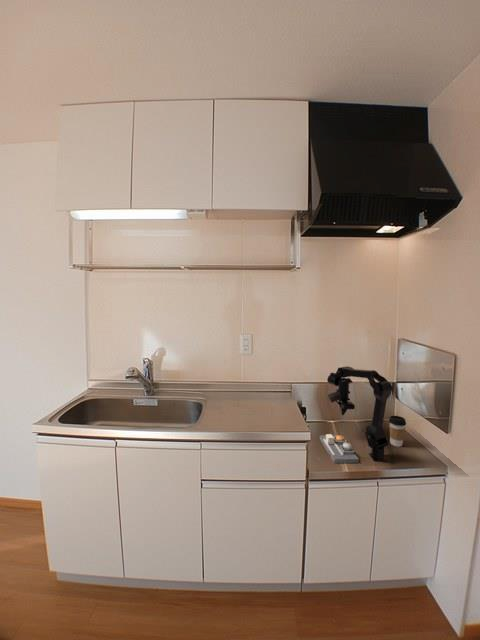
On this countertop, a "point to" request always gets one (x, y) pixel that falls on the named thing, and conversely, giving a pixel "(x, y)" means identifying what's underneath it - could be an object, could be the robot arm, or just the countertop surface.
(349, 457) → the control panel
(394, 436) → the coffee cup
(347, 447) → the grey button
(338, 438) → the orange button
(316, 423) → the countertop surface
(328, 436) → the slider knob
